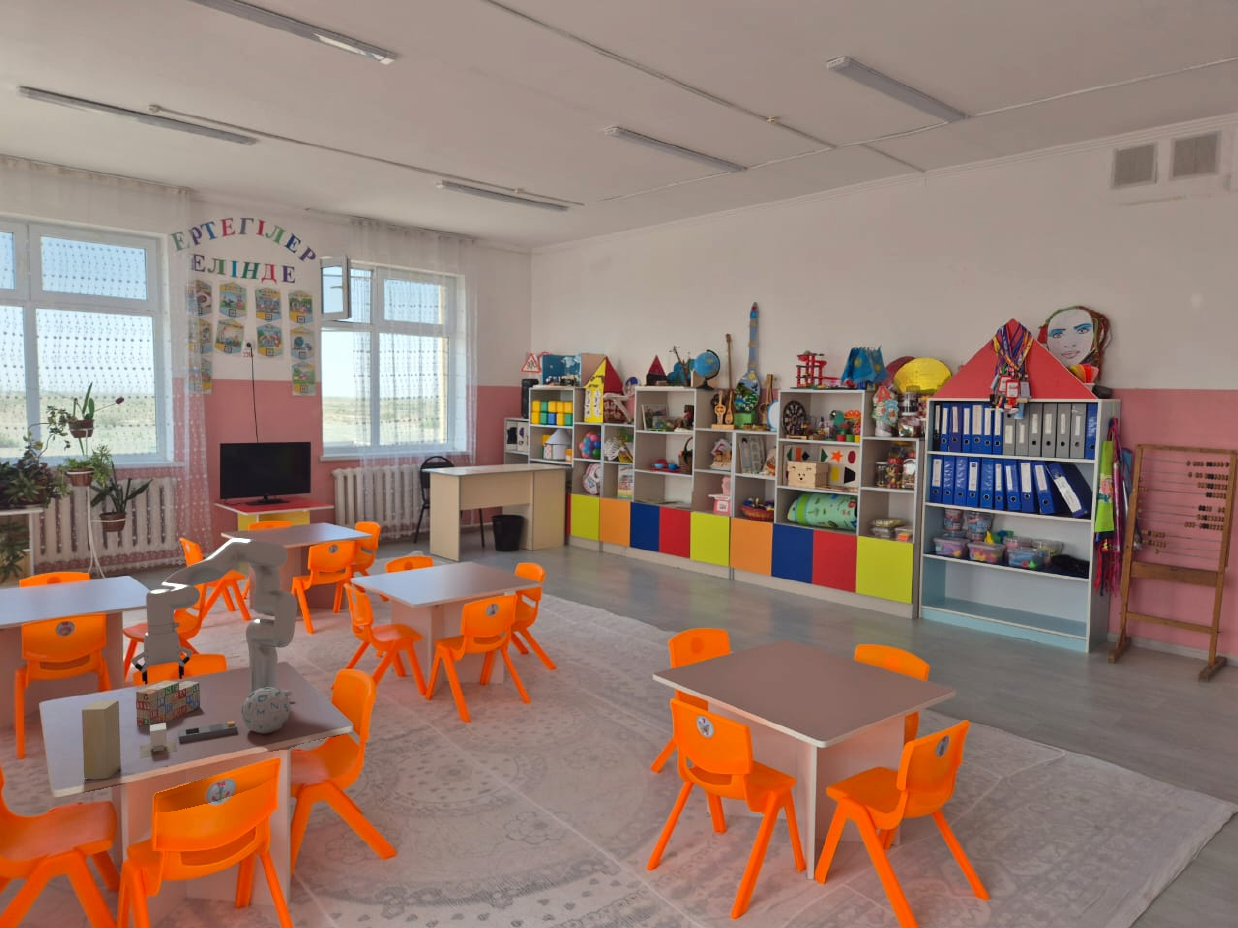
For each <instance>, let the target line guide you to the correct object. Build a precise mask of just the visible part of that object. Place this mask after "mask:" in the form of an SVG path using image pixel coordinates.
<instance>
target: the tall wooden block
mask: <svg viewBox="0 0 1238 928" xmlns="http://www.w3.org/2000/svg"><path fill="white" fill-rule="evenodd" d="M119 703H120V702H119V700H118V699H115V700H112V699H111V700H109V699H108V700H95V701H94V702H91V704H89V705H87V706H86V707H85V708H83V709H82V710H81V720H82V721H81V723H82V728H81V729H82V749H83V776H84V777H83V779H84V778H85V779H84V780H86V778H87V779H91V780H108V779H109V778H111V777H112V776H113V775H114V774H115V773H117V772H118V771H119V770H120V769H121V767H122V763H121V761H122V759H121V733H120V731H121V730H120V728H121V727H120V704H119ZM111 775H112V776H111Z"/></svg>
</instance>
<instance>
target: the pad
mask: <svg viewBox="0 0 1238 928" xmlns="http://www.w3.org/2000/svg"><path fill="white" fill-rule="evenodd" d="M174 752H178V750H177V742H176V740H175V739H174V740H167V744H164V750H160V751H155V752H153V747H151V745H150V743H149V744H145V745H140V746H139V759H140V758H145V757H146V758H147V757H152V756H156V755H157V756H158V755H163V754H169V753H174Z"/></svg>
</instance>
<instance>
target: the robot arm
mask: <svg viewBox="0 0 1238 928" xmlns="http://www.w3.org/2000/svg"><path fill="white" fill-rule="evenodd" d="M288 558H289V553H288V550H287V548H286V547H285V546H284V545H282V544H279V543H274V542H268V541H263V540H260V539H259V540H258V539H254V538H245V537H244V538H242V537H233V538H231V539H229V540H227V541H225V542H224V543H223V544H222V545H221V546H220V547H218V548H217V549H216V550H215V551H213V552H212V553H211V554H209V555H208V556H207V557H206V558H205V559H203V560H201V561H199V562H196V563H193V564H191V565H189V566H186V567H183V568H181V569H180V570H177V571H176V572H174V573H173V574H171V575H170V576H168V577H167V578H166V579H165V580H163V581H162V582H161V583H160V584H159V586H158V587H156V589H153V590H149V591H148V592H147V593H146V596H145V597H146V598H145V600H146V601H145V602H146V603H145V604H146V621H147V622H146V623H147V632H146V633H145V634H144V637H143V638H144V639H143V652H141V653H138V655H135V656H134V657H132V658H131V659H130V662H131V663H132V666H134V667H135V669H137V670H139V672H141V678H142V680H141V681H142V682H144V685H145V686H146V685H148V683H149V682H148V669H149V667H150V666H159V665H164V664H165V665H166V664H170V663H171V664H172V663H176V664H178V679H179V680H182V679H183V676H185V665H186V664H187V663H188V662H189V661H190V659H191V658H192V655H193V653H194V651H193V650H191V649H189V648H186V647H182V646H181V643H180V636H179V633H178V630H177V628H179V627H180V622H176V621H175V610H180V609H181V610H182V609H184V610H185V609H189V608H192V607H194V606H195V605H197V603H198V602H199V601H200V598H201V593H200V590H199V589H198V588H197V587H195V586H198V585H202V584H207V583H213V582H216V581H217V582H218V581H219V580H221V579H223V578H224V577H225V576H226V575H227V574H229V572H231V571H232V570H233V569H234V568H235V567H237V566H238V565H239V564H244V563H245V564H248V565H249V566H250V567H251V569H252V570H253V573H254V574H255V575H254V576H255V585H254V595H253V610H254V612H255V613H257V614H259V615H262V616H268V617H274V619H272V618H271V619H270V618H263V617H262V618H256V619H253V620H252V621H250V622H249V623H248V624H247V626H246V630H245V639H246V644H247V647H248V657H249V661H248V663H249V696H250V695H251V693H253V692H254V691H256V690H258V689H261V688H265V687H272V688H277V689H279V687H278V686H279V684H278V683H279V681H278V679H279V676H278V672H279V670H278V661H279V660H278V653H277V649H276V648H279V649H281V648H287V647H288V646H289V645H290V644H292V642H293V639H294V636H295V629H296V620H297V613H298V612H297V611H298V601H297V599H296V596H295V595H294V593H292V592H290V591H288V590H287V591H286V590H281V572H280V568H281V567H283V566H284V565H285V564H286V563H287V561H288ZM181 653H184V654H186V656H185V657H183V659H182V658H181ZM141 659H143V661H144V663H143V664H141V663H139V662H138V661H139V660H141ZM280 690H281V689H280ZM281 691H282V692H283V693H285V694H286V695H287V697H290V696H292V690H291V689H290V690H287V688H286V689H283V690H281Z"/></svg>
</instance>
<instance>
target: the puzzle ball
mask: <svg viewBox="0 0 1238 928" xmlns="http://www.w3.org/2000/svg"><path fill="white" fill-rule="evenodd" d="M290 713H291V701H290V699H289V696H287V695H286V694H285V693H283V692H282V691H281V689H279V688H278V689H277V688H272V687H265V688H261V689H258V690H256V691H254V692H253V693H251V695H250V694H249V696H248V697H246V699H245V700H244V702H243V705H242V707H241V717H242V721H243V723H244V724H245V726H246V728H248V729H249V730H250V731H252V732H255V733H259V734H262V735H266V734H270V733H275V732H276V731H278V730H279V729H281V728H282V727H283V726H284V725H285V724H286V722H287V721H288V719H289V717H290Z"/></svg>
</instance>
